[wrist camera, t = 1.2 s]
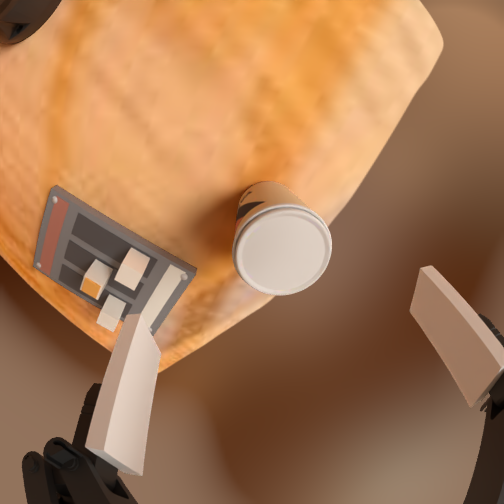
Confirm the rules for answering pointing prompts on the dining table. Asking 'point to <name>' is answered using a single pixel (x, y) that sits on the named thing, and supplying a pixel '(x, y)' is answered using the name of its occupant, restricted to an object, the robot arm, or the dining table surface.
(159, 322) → the breaker panel
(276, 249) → the coffee cup
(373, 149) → the dining table surface
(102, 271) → the breaker toggle
